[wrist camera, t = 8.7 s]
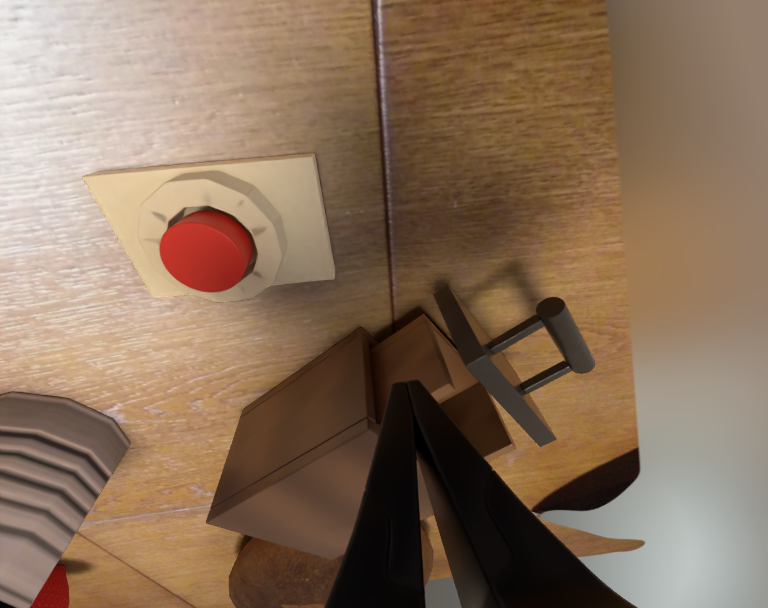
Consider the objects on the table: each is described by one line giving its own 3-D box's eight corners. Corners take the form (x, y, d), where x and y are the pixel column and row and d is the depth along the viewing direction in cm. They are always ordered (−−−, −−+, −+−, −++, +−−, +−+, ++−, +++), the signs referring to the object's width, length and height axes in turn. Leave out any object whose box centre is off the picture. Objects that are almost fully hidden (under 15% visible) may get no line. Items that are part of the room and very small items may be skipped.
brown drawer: (511, 240, 19) (580, 300, 14) (564, 334, 24) (630, 406, 19) (313, 375, 24) (303, 460, 18) (392, 430, 29) (403, 510, 24)
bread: (382, 578, 56) (387, 649, 49) (222, 577, 48) (200, 663, 40) (465, 506, 42) (489, 590, 35) (261, 486, 34) (238, 591, 27)
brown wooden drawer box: (361, 326, 23) (368, 429, 16) (441, 398, 29) (473, 497, 22) (242, 410, 27) (204, 523, 20) (334, 458, 32) (331, 560, 25)
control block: (314, 152, 16) (309, 162, 14) (335, 270, 20) (333, 294, 18) (97, 171, 16) (50, 185, 13) (162, 288, 20) (136, 316, 17)
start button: (239, 206, 15) (228, 218, 13) (261, 272, 17) (253, 288, 15) (162, 213, 15) (142, 226, 13) (194, 279, 17) (179, 296, 15)
